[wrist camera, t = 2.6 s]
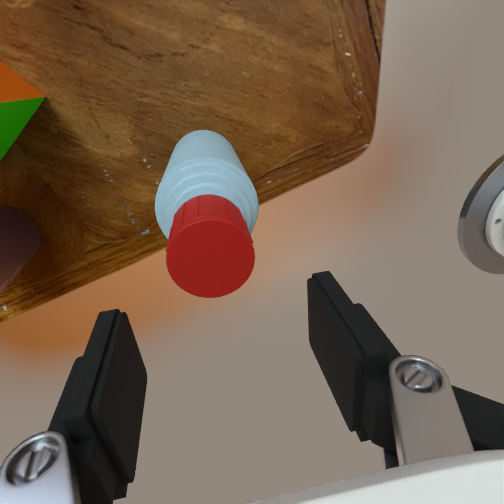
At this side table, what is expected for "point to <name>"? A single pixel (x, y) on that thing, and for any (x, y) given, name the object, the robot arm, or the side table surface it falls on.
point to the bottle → (204, 177)
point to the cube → (15, 106)
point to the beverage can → (16, 243)
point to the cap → (209, 247)
